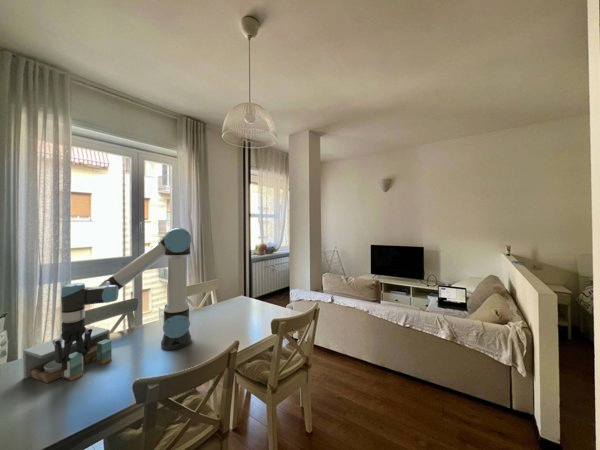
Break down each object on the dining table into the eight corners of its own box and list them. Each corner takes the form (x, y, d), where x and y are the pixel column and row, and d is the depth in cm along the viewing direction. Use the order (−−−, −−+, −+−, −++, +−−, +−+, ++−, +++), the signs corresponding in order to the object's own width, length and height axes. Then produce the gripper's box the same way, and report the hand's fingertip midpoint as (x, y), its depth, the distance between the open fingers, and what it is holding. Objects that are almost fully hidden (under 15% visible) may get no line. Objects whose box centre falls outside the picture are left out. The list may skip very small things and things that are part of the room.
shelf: (109, 353, 127) (109, 329, 127) (41, 384, 102) (41, 355, 102) (92, 348, 132) (92, 326, 132) (23, 377, 107) (23, 349, 107)
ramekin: (39, 380, 106) (39, 370, 106) (50, 369, 114) (50, 359, 114) (66, 375, 109) (66, 365, 109) (74, 364, 117) (74, 355, 117)
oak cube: (98, 355, 125) (98, 345, 125) (88, 360, 120) (88, 350, 120) (89, 354, 126) (89, 344, 126) (79, 359, 121) (79, 349, 121)
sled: (94, 369, 113) (94, 348, 113) (58, 387, 101) (58, 364, 100) (66, 360, 120) (66, 341, 120) (30, 376, 108) (30, 354, 107)
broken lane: (116, 357, 123) (116, 338, 123) (96, 367, 114) (96, 346, 114) (93, 351, 129) (93, 332, 129) (72, 360, 121) (72, 340, 121)
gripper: (90, 312, 117) (90, 361, 117) (42, 326, 101) (42, 383, 101) (100, 314, 114) (101, 364, 114) (53, 328, 98) (53, 387, 98)
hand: (73, 373), depth 107 cm, fingers closed on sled, 4 cm apart
